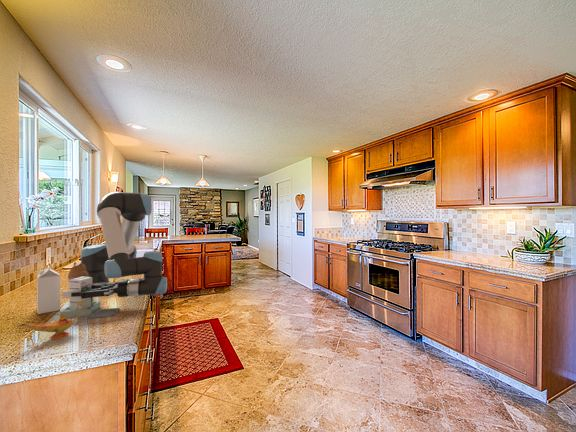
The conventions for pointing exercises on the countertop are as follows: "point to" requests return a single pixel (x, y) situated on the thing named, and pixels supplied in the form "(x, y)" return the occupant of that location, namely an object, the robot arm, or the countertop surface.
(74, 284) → the syrup box
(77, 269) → the cat ice cream
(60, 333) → the magic lamp
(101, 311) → the coaster
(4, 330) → the countertop surface
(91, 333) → the countertop surface
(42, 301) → the milk carton
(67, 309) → the corral
